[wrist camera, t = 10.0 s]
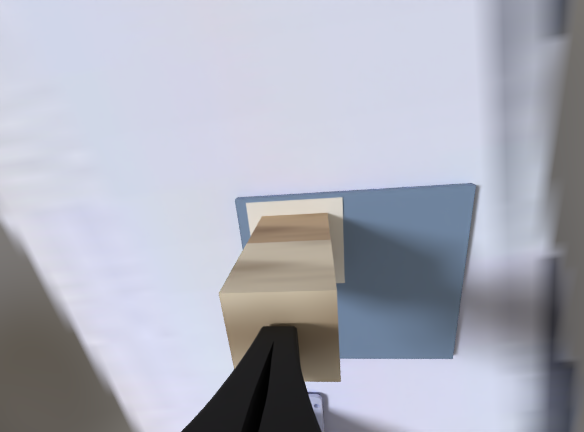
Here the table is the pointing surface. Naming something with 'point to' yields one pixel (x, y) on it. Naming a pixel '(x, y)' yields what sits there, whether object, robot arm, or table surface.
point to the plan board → (388, 263)
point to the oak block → (291, 228)
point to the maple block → (286, 302)
